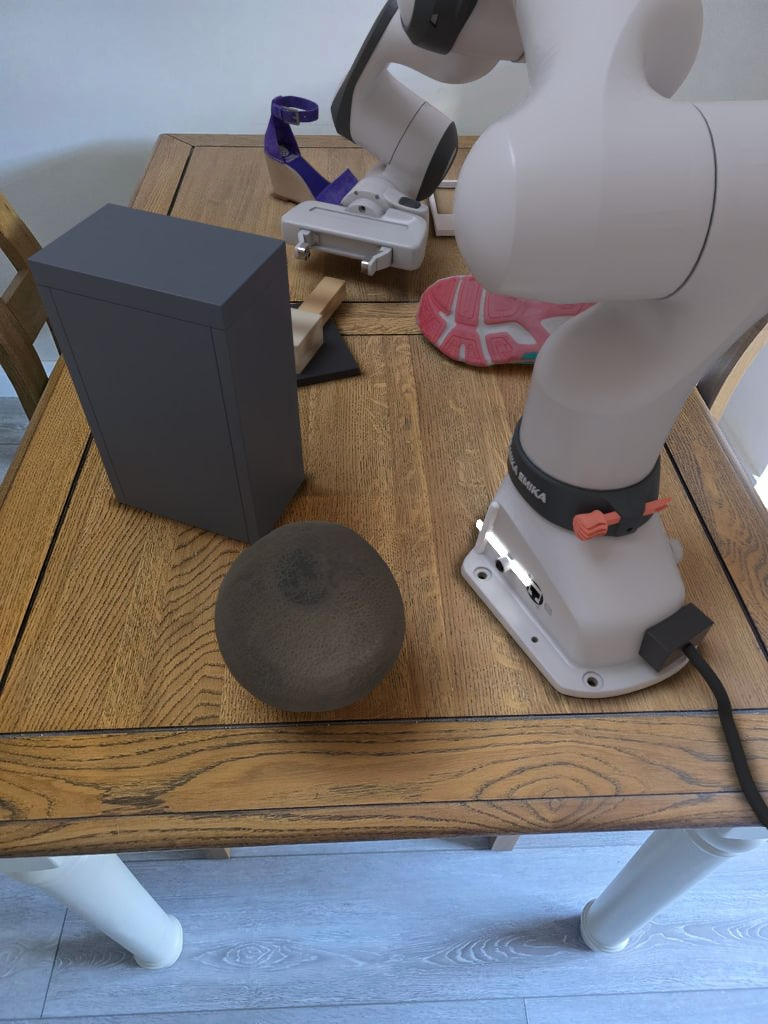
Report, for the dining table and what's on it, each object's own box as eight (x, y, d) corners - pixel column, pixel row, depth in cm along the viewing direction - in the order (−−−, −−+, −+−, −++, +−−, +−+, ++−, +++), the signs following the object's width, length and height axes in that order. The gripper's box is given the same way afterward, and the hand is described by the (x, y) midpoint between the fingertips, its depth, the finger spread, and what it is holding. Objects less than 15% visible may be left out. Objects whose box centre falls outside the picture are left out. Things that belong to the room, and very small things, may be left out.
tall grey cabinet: (171, 439, 77) (108, 202, 58) (305, 478, 74) (285, 240, 54) (117, 502, 71) (26, 258, 51) (260, 547, 67) (221, 305, 48)
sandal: (363, 229, 110) (364, 126, 99) (261, 198, 117) (250, 98, 106) (389, 210, 115) (393, 109, 104) (289, 181, 121) (282, 83, 110)
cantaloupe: (217, 753, 54) (180, 650, 42) (239, 599, 63) (213, 482, 52) (402, 752, 54) (414, 649, 43) (396, 599, 64) (405, 483, 52)
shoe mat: (358, 374, 86) (358, 367, 85) (278, 390, 83) (277, 383, 82) (321, 305, 96) (321, 298, 95) (248, 317, 93) (247, 311, 92)
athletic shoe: (631, 370, 89) (633, 271, 87) (635, 366, 80) (638, 257, 79) (426, 378, 97) (424, 288, 95) (409, 376, 88) (407, 276, 86)
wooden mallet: (315, 289, 96) (314, 262, 93) (356, 299, 95) (356, 271, 92) (254, 362, 85) (250, 334, 82) (299, 374, 84) (297, 346, 81)
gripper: (302, 181, 100) (258, 223, 92) (439, 208, 96) (406, 255, 87) (305, 224, 105) (263, 268, 96) (436, 251, 101) (404, 300, 92)
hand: (332, 262), depth 92 cm, fingers open, 8 cm apart
